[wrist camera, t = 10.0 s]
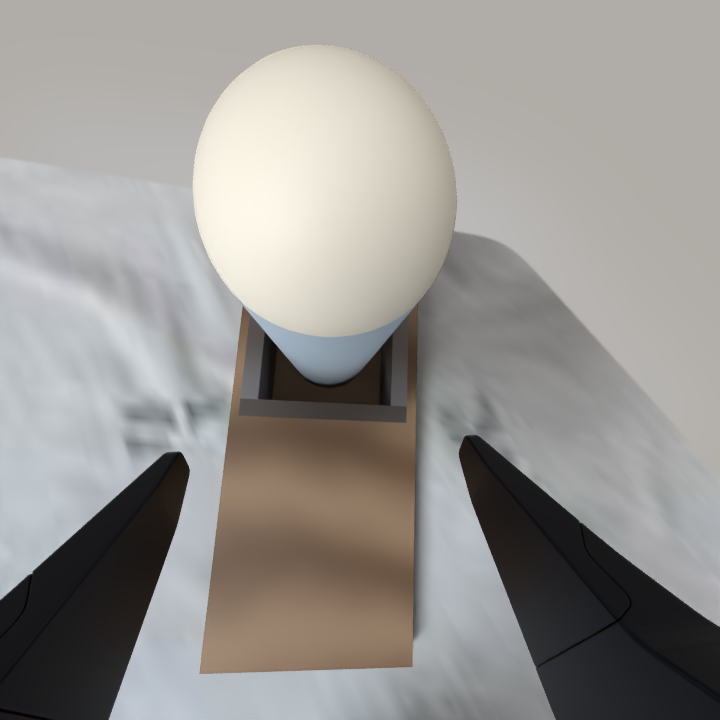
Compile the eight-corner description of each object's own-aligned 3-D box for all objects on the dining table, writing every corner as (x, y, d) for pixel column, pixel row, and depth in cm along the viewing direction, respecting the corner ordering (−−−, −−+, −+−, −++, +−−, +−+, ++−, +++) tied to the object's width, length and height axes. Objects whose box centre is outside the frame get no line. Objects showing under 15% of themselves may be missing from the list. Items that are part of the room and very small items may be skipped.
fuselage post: (379, 361, 18) (592, 159, 3) (320, 402, 18) (269, 370, 3) (338, 305, 19) (375, -101, 4) (279, 342, 18) (31, 19, 3)
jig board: (406, 648, 17) (434, 738, 12) (209, 654, 16) (160, 753, 11) (413, 289, 21) (436, 256, 16) (252, 276, 20) (228, 235, 15)
